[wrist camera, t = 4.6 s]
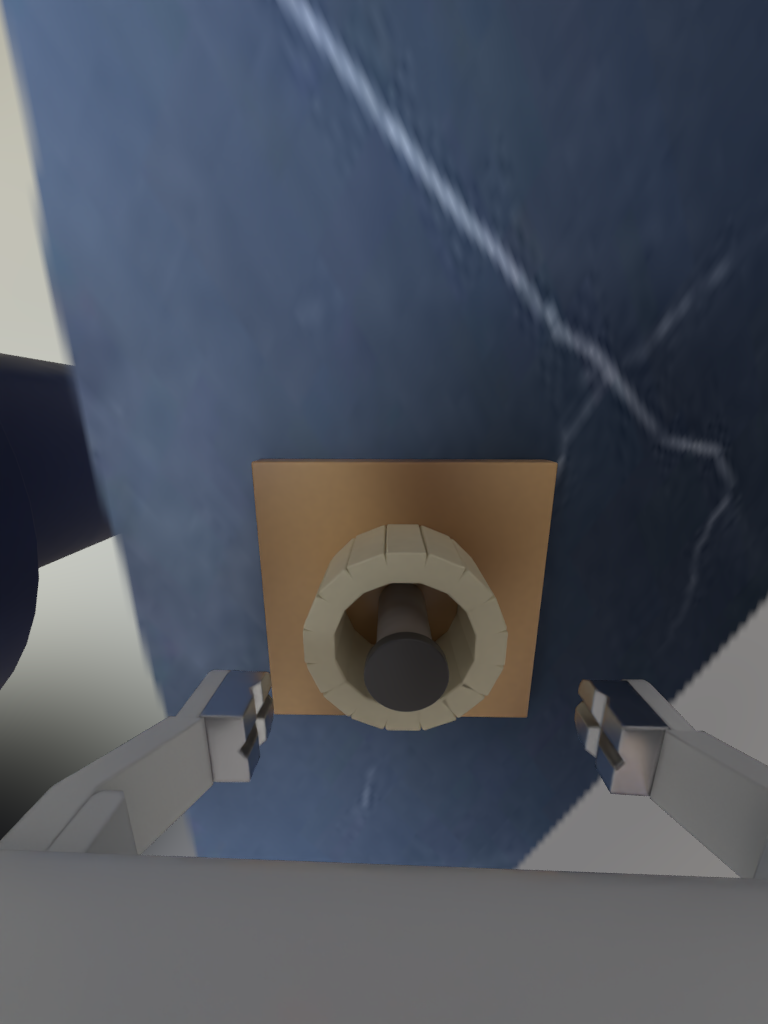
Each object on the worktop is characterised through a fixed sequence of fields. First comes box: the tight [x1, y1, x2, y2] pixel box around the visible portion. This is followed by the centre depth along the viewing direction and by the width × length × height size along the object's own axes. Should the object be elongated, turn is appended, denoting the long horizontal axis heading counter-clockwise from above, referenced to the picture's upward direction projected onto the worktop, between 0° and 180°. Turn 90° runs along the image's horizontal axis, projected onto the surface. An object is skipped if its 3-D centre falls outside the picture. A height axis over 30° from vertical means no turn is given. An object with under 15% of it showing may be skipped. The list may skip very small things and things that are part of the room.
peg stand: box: [252, 459, 558, 718], centre depth 13 cm, size 11×11×5 cm
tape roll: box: [303, 524, 508, 731], centre depth 13 cm, size 6×6×3 cm
